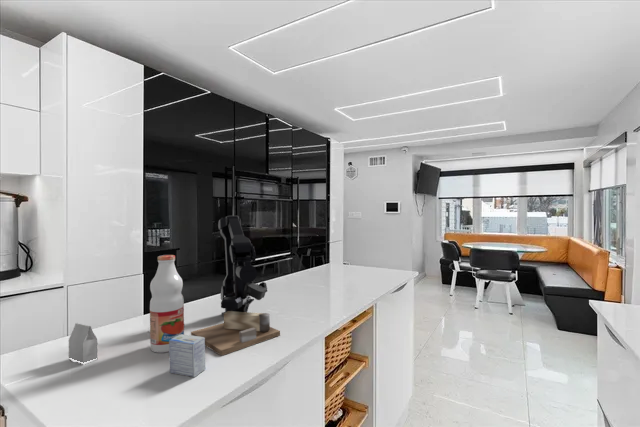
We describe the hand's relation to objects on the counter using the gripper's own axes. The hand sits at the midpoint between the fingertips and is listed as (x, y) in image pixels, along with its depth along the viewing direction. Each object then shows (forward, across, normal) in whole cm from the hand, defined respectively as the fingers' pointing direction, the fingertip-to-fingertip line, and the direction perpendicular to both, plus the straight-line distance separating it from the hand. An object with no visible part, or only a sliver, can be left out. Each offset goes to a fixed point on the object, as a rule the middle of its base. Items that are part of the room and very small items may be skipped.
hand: (243, 321), depth 113 cm
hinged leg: (+1, -4, -3) cm, 5 cm away
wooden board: (+3, -6, 0) cm, 7 cm away
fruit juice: (+3, -19, +16) cm, 25 cm away
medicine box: (+3, -31, -1) cm, 31 cm away
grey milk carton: (+2, -32, +33) cm, 46 cm away
